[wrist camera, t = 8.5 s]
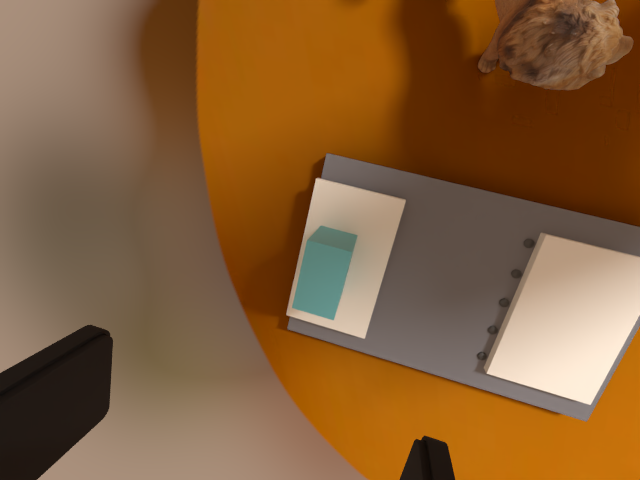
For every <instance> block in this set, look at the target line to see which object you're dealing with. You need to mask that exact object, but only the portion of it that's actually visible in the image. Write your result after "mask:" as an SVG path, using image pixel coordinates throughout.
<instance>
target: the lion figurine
mask: <svg viewBox="0 0 640 480" xmlns="http://www.w3.org/2000/svg"><path fill="white" fill-rule="evenodd" d="M495 3H496V8H497V12H498V16H499V19H500V24H499V26H498V28H497V29H496V31H495V33H494V36H493V39H492V41H491V42H490V44H489V46H488V48H487V49H486V50H485V52H484V53H483V55H482V56H481V58H480V60H479V62H478V69H479V70H480V71H481V72H484V73H488V72H490V71H492V70H494V69H495V67H496V61H497V60H498V58H499V59H500V68H502V69H503V70H505V71H509V72H510V77H511V78H512V79H515V80H519V81H522V82H524V83H530V84H531V85H534V86H538V87H542V88H544V89H551V90H553V89H555V90H567V91H568V90H572V89H579V88H580V87H582V86H583V85H585V84H586V83H588V82H589V81H592V80H593V79H595V78H599V77H601V76H602V75H603V74H604V73H605V68H606V65H608V64H612V63H614V62H616V61H618V60H619V59H620V58H622V57H623V56H624V55H626V54H628V53H629V52H630V50H631V48H632V46H633V39H632V38H631V37H630V36H624V35H623V30H622V28H621V27H620V26H619V20H618V19H617V16H618V13H619V8H618V7H617V6H616V2H615V0H607V1H606V2H604V3H602V4H599V3H598V2H596V1H590V0H495Z"/></svg>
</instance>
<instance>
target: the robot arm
mask: <svg viewBox="0 0 640 480" xmlns="http://www.w3.org/2000/svg"><path fill="white" fill-rule="evenodd" d="M112 347H113V340H112V338H111V337H110V333H109V331H107V330H105V329H102V328H99V327H96V326H92V325H87V326H85V327H83V328H81V329H79V330H77V331H76V332H74V333H72V334H70V335H68V336H66V337H65V338H63V339H61V340H59V341H57V342H56V343H54V344H52V345H50V346H49V347H47V348H45V349H43V350H41V351H39V352H38V353H36V354H34V355H32V356H30V357H28V358H27V359H25V360H23V361H21V362H19V363H18V364H16V365H14V366H12V367H10V368H9V369H7V370H5V371H3V372H2V373H0V480H37V479H38V478H39V477H40V476H41V475H42V474H43V473H45V472H46V471H47V470H48V469H49V468H50V467H51V466H52V465H53V464H54V463H55V462H56V461H58V460H59V459H60V458H61V457H62V456H63V455H64V454H65V453H66V452H67V451H69V450H70V449H71V448H72V447H73V446H74V445H75V444H76V443H77V442H78V441H79V440H80V439H82V438H83V437H84V436H85V435H86V434H87V433H88V432H89V431H90V430H91V429H92V428H94V427H95V426H96V425H97V424H98V423H99V422H100V421H101V420H102V419H103V418H104V417H105V415H106V414H107V412H108V409H109V403H110V402H109V401H110V384H111V366H112ZM400 480H455V477H454V472H453V468H452V463H451V459H450V454H449V450H448V446H447V444H446V443H445V442H443V441H440V440H436V439H433V438H430V437H427V436H424V437H423V438H422V440H418V439H416V440H415V441H414V443H413V446H412V448H411V451H410V454H409V456H408V459H407V462H406V464H405V467H404V470H403V472H402V475H401V477H400Z"/></svg>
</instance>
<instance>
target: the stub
mask: <svg viewBox="0 0 640 480" xmlns="http://www.w3.org/2000/svg"><path fill="white" fill-rule="evenodd" d="M405 202H406V200H405V199H402V198H397V197H393V196H389V195H385V194H381V193H377V192H373V191H369V190H365V189H361V188H357V187H353V186H349V185H345V184H341V183H337V182H333V181H329V180H324V179H320V178H316V181H315V185H314V190H313V194H312V199H311V204H310V208H309V213H308V217H307V222H306V226H305V231H304V235H303V240H302V245H301V249H300V254H299V258H298V263H297V267H296V272H295V277H294V281H293V286H292V290H291V295H290V299H289V304H288V308H287V313H286V315H287V316H291V317H294V318H297V319H301V320H304V321H307V322H311V323H314V324H317V325H320V326H324V327H327V328H330V329H334V330H337V331H340V332H344V333H347V334H350V335H353V336H357V337H360V338H363V339H365V336H366V333H367V329H368V326H369V323H370V319H371V316H372V313H373V309H374V306H375V303H376V299H377V296H378V293H379V289H380V286H381V283H382V279H383V276H384V272H385V269H386V266H387V262H388V259H389V256H390V252H391V249H392V246H393V242H394V239H395V236H396V232H397V229H398V226H399V222H400V219H401V216H402V212H403V209H404V206H405Z"/></svg>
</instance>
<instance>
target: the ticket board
mask: <svg viewBox="0 0 640 480" xmlns="http://www.w3.org/2000/svg"><path fill="white" fill-rule="evenodd" d="M321 179H324V180H329V181H333V182H337V183H341V184H345V185H349V186H353V187H357V188H361V189H365V190H369V191H373V192H377V193H381V194H385V195H389V196H393V197H397V198H402V199H405V200H406V202H405V206H404V209H403V212H402V216H401V219H400V222H399V226H398V229H397V232H396V236H395V239H394V242H393V246H392V249H391V252H390V256H389V259H388V262H387V266H386V269H385V272H384V276H383V279H382V283H381V286H380V289H379V293H378V296H377V299H376V303H375V306H374V309H373V313H372V316H371V319H370V323H369V326H368V329H367V333H366V336H365V339H363V338H360V337H357V336H353V335H350V334H347V333H344V332H340V331H337V330H334V329H330V328H327V327H324V326H320V325H317V324H314V323H311V322H307V321H304V320H301V319H297V318H294V317H291V316H290V319H289V323H288V328H287V329H288V330H292V331H295V332H298V333H301V334H305V335H308V336H311V337H314V338H318V339H321V340H324V341H327V342H330V343H334V344H337V345H340V346H343V347H347V348H350V349H353V350H356V351H360V352H363V353H366V354H369V355H373V356H376V357H379V358H382V359H386V360H389V361H392V362H395V363H399V364H402V365H405V366H408V367H411V368H415V369H418V370H421V371H424V372H428V373H431V374H434V375H437V376H441V377H444V378H447V379H450V380H454V381H457V382H460V383H463V384H467V385H470V386H473V387H476V388H480V389H483V390H486V391H489V392H492V393H496V394H499V395H502V396H505V397H509V398H512V399H515V400H518V401H522V402H525V403H528V404H531V405H535V406H538V407H541V408H544V409H548V410H551V411H554V412H557V413H561V414H564V415H567V416H570V417H573V418H577V419H580V420H583V421H586V422H587V420H588V419H589V417H590V415H591V413H592V411H593V409H594V408H595V406H596V404H597V402H598V400H599V399H600V397H601V395H602V393H603V391H604V390H605V388H606V386H607V384H608V382H609V381H610V379H611V377H612V375H613V373H614V371H615V370H616V368H617V366H618V364H619V362H620V361H621V359H622V357H623V355H624V353H625V352H626V350H627V348H628V346H629V344H630V342H631V341H632V339H633V337H634V335H635V333H636V332H637V330H638V328H639V326H640V227H638V226H634V225H630V224H626V223H621V222H617V221H613V220H609V219H604V218H600V217H596V216H592V215H588V214H583V213H579V212H575V211H571V210H566V209H562V208H558V207H554V206H549V205H545V204H541V203H537V202H532V201H528V200H524V199H520V198H516V197H511V196H507V195H503V194H499V193H494V192H490V191H486V190H482V189H477V188H473V187H469V186H465V185H461V184H456V183H452V182H448V181H444V180H439V179H435V178H431V177H427V176H422V175H418V174H414V173H410V172H405V171H401V170H397V169H393V168H389V167H384V166H380V165H376V164H372V163H367V162H363V161H359V160H355V159H350V158H346V157H342V156H338V155H334V154H329V153H326V158H325V162H324V167H323V171H322V176H321Z"/></svg>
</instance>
